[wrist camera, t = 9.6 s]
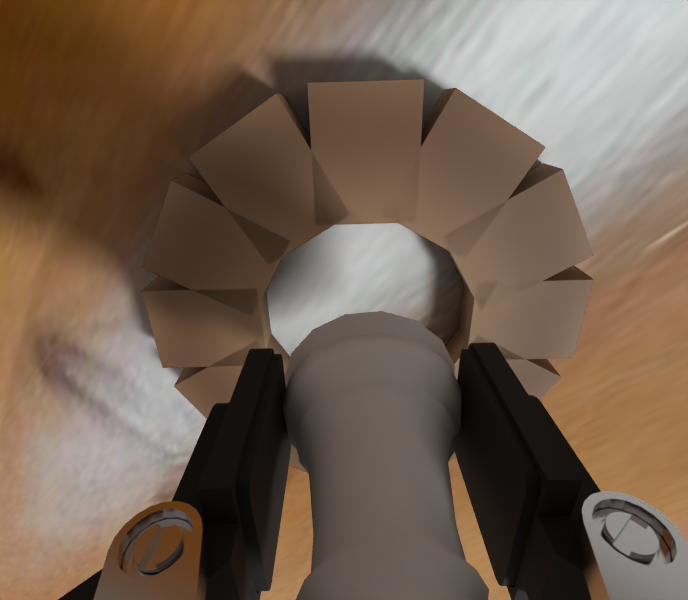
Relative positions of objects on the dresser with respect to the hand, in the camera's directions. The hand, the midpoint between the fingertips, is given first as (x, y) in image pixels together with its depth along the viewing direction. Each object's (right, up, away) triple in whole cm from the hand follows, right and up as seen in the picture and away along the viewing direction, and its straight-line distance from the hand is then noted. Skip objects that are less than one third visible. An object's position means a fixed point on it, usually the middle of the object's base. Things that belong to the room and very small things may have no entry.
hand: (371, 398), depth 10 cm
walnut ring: (0, +2, +4) cm, 5 cm away
